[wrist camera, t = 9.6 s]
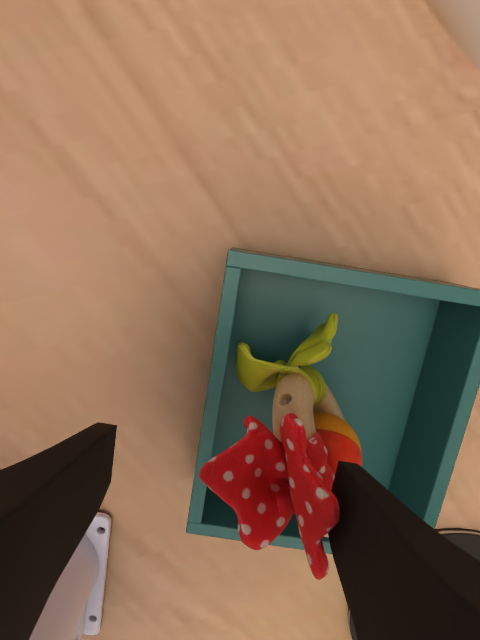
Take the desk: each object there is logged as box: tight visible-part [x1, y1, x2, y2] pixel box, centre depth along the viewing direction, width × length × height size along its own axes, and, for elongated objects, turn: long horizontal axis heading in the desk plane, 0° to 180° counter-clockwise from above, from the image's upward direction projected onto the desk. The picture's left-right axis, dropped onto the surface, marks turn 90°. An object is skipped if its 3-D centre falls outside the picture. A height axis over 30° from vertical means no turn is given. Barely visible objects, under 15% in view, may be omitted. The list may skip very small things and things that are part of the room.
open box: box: [186, 248, 480, 554], centre depth 20 cm, size 14×12×5 cm
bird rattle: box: [199, 313, 362, 580], centre depth 16 cm, size 6×11×9 cm
